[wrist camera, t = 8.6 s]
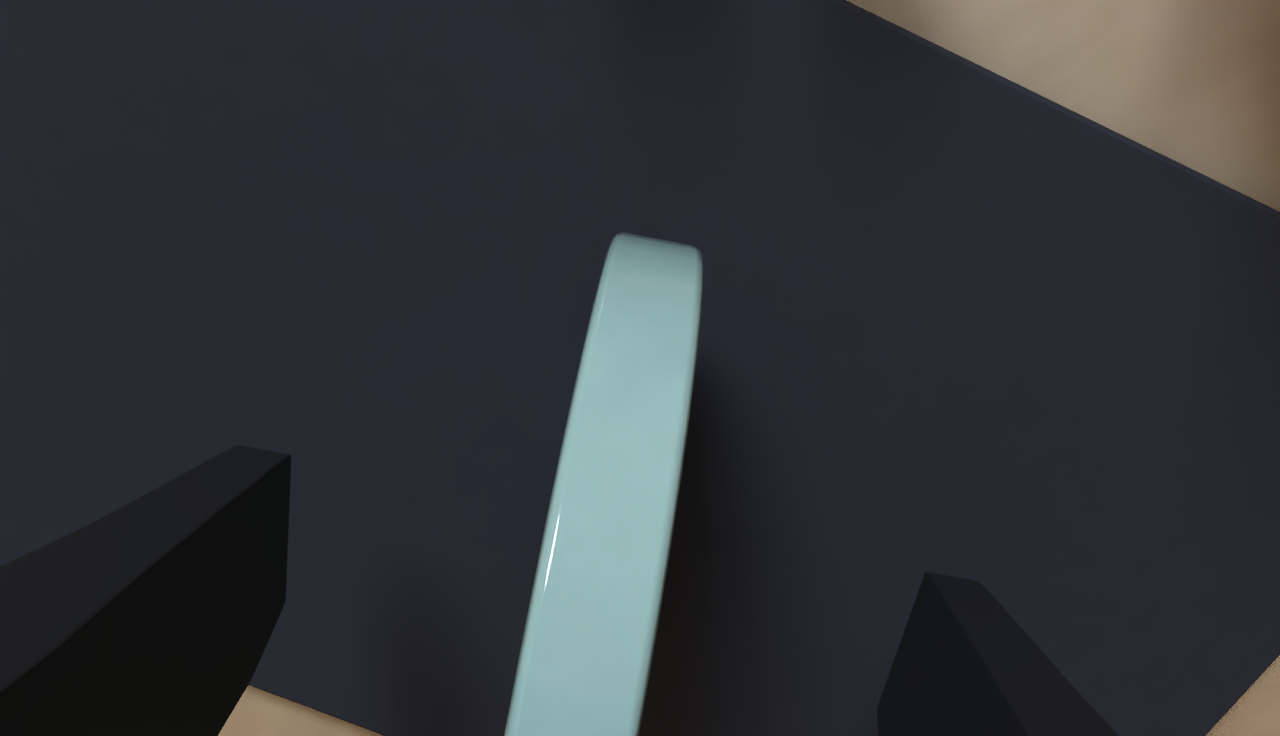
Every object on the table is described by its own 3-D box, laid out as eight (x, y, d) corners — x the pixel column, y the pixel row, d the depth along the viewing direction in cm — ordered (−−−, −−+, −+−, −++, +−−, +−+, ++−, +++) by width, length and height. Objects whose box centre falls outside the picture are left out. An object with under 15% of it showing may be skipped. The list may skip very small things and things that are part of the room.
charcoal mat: (1539, 338, 14) (1561, 351, 14) (989, 944, 19) (994, 966, 19) (-1, -413, 12) (-26, -422, 11) (-138, 520, 17) (-156, 534, 17)
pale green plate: (704, 174, 14) (707, 460, 6) (600, 690, 17) (517, 1306, 9) (633, 160, 14) (550, 428, 6) (542, 679, 17) (410, 1288, 9)
